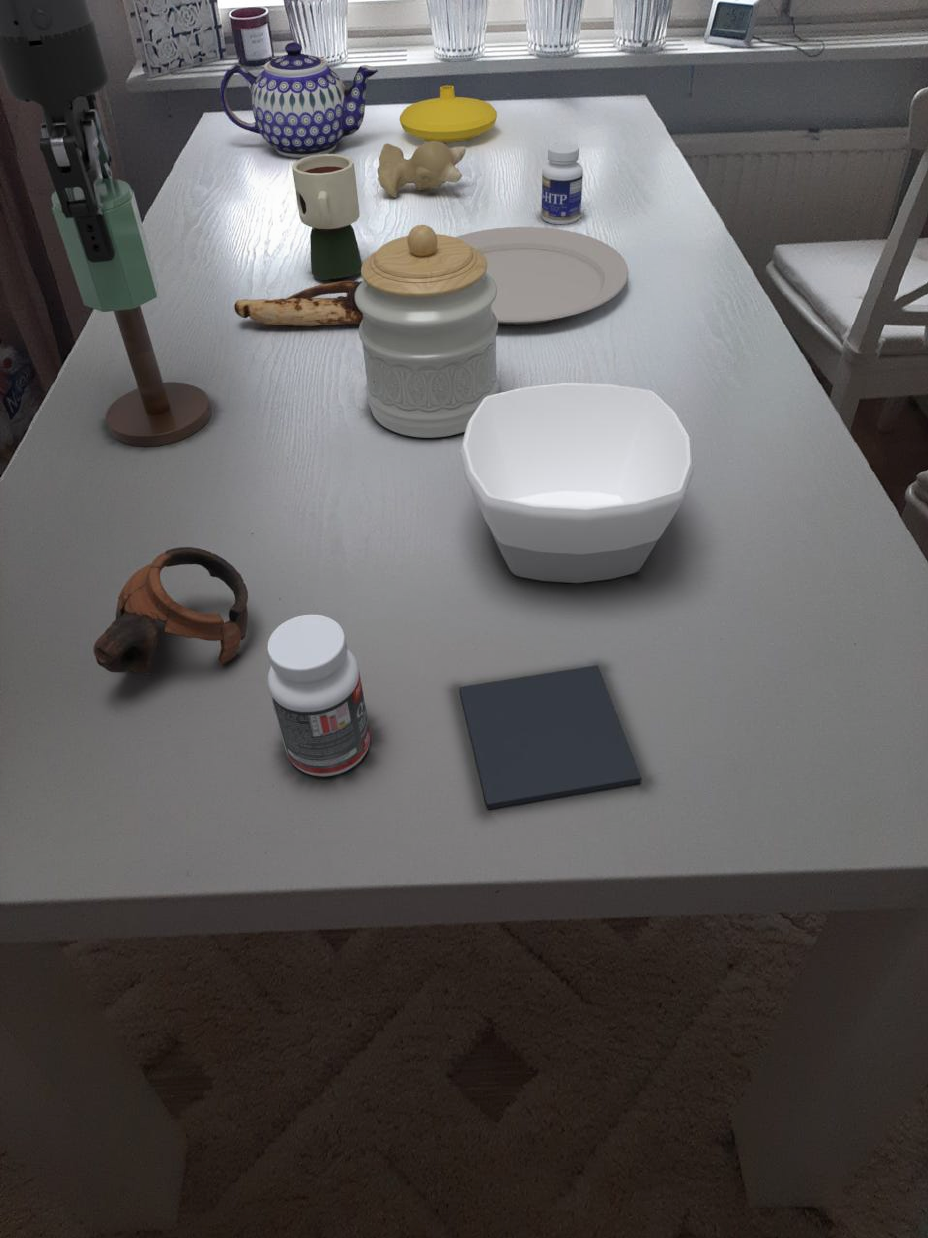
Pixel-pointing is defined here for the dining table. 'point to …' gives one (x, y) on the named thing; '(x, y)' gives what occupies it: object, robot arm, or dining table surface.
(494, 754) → the coaster
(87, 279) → the cup
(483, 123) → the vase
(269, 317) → the bone fish hook
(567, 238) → the plate
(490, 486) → the bowl
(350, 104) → the teapot
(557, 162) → the pill bottle
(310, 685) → the pill bottle
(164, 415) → the holder
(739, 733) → the dining table surface
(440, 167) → the cat figurine
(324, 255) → the character mug
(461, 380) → the jar
